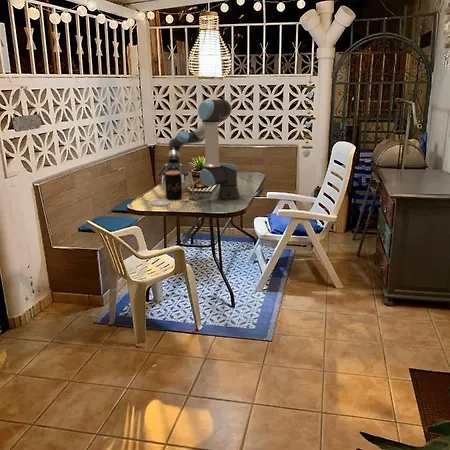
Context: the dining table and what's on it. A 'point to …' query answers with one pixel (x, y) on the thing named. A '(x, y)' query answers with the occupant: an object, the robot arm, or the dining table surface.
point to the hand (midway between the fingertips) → (172, 184)
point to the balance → (186, 190)
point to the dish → (160, 202)
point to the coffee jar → (173, 185)
